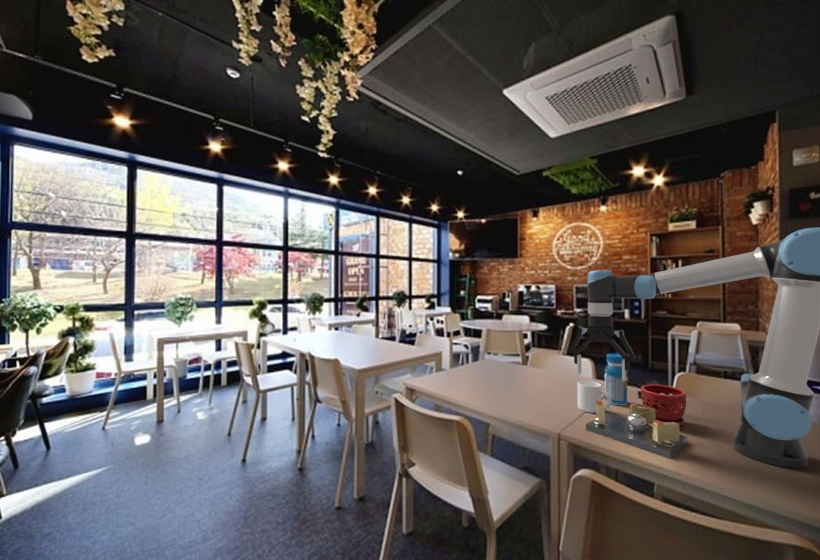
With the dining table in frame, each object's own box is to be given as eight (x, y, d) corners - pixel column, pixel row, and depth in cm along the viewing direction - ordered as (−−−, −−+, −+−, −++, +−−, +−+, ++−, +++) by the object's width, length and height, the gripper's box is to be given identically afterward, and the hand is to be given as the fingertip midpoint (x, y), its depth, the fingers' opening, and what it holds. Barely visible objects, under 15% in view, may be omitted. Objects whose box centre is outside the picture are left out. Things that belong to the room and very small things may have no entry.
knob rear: (652, 423, 117) (652, 405, 117) (656, 427, 114) (656, 408, 114) (629, 421, 120) (629, 402, 120) (632, 424, 117) (632, 406, 117)
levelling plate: (688, 442, 109) (688, 420, 109) (670, 458, 99) (670, 434, 99) (607, 418, 128) (607, 399, 128) (585, 429, 118) (585, 409, 118)
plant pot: (649, 412, 134) (649, 381, 134) (691, 424, 123) (691, 390, 123) (634, 420, 126) (634, 387, 126) (677, 433, 115) (677, 397, 115)
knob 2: (672, 439, 106) (672, 419, 106) (681, 444, 102) (681, 423, 102) (650, 440, 105) (650, 419, 105) (659, 445, 102) (659, 424, 102)
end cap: (657, 402, 145) (657, 386, 145) (637, 398, 150) (637, 382, 150) (661, 396, 152) (661, 381, 152) (642, 393, 157) (642, 378, 157)
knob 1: (607, 426, 115) (607, 407, 115) (596, 425, 116) (596, 406, 116) (604, 418, 122) (604, 400, 122) (593, 417, 123) (593, 399, 123)
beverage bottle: (611, 406, 140) (611, 357, 140) (600, 398, 149) (600, 352, 149) (632, 406, 140) (632, 357, 140) (620, 399, 149) (620, 352, 149)
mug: (614, 412, 133) (614, 386, 133) (606, 418, 128) (606, 390, 128) (582, 404, 142) (583, 379, 142) (574, 409, 137) (574, 383, 137)
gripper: (644, 316, 114) (645, 380, 114) (564, 312, 130) (565, 368, 129) (642, 317, 108) (643, 385, 108) (559, 313, 124) (559, 373, 124)
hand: (600, 376), depth 119 cm, fingers open, 13 cm apart
